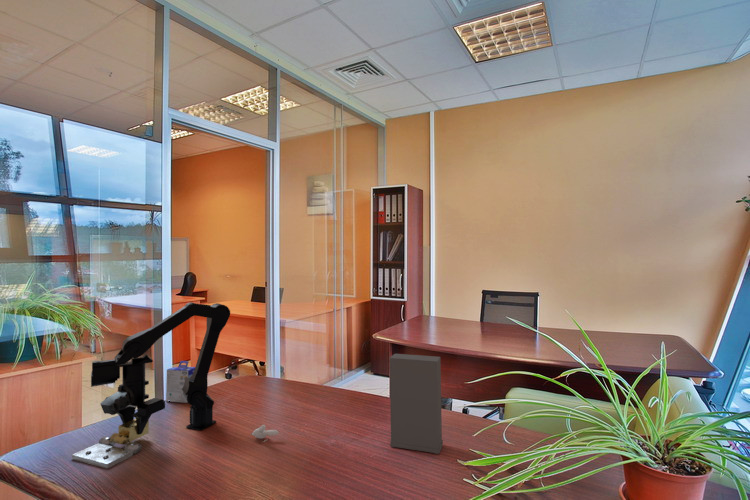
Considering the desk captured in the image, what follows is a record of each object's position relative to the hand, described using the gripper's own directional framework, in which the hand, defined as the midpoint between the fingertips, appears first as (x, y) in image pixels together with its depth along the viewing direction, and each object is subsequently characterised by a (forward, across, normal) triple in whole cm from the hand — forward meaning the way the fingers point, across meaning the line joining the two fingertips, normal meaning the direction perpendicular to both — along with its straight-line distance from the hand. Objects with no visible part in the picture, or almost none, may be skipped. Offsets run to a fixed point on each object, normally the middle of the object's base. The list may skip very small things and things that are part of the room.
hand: (134, 432), depth 112 cm
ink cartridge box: (+3, -15, +31) cm, 34 cm away
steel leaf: (+3, 0, -8) cm, 8 cm away
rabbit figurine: (+3, +36, +14) cm, 39 cm away
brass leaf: (+1, 0, -1) cm, 2 cm away
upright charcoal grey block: (+3, +79, +26) cm, 83 cm away
